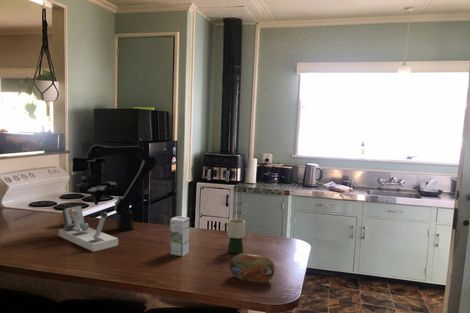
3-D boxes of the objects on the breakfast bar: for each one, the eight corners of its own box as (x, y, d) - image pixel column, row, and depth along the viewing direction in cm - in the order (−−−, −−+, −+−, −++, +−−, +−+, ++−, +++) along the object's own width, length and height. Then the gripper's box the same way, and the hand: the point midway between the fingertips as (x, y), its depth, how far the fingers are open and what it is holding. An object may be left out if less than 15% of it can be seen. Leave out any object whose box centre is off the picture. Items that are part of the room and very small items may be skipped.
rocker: (70, 226, 160) (70, 223, 160) (74, 227, 157) (74, 224, 157) (63, 227, 158) (63, 225, 158) (68, 228, 155) (67, 225, 155)
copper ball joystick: (81, 230, 154) (71, 207, 150) (84, 231, 152) (75, 208, 148) (76, 233, 152) (66, 210, 148) (79, 234, 150) (69, 211, 146)
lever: (96, 239, 144) (105, 211, 147) (100, 240, 143) (109, 212, 145) (91, 238, 142) (100, 210, 145) (94, 239, 141) (104, 211, 143)
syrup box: (189, 252, 141) (189, 217, 140) (182, 257, 136) (183, 220, 135) (176, 250, 143) (177, 215, 142) (169, 255, 137) (169, 218, 136)
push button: (85, 226, 161) (85, 222, 161) (89, 228, 158) (89, 224, 158) (78, 228, 158) (78, 224, 158) (82, 230, 156) (82, 225, 155)
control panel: (82, 231, 166) (82, 224, 166) (118, 245, 147) (118, 237, 147) (59, 236, 158) (59, 229, 157) (93, 251, 139) (93, 243, 138)
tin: (229, 277, 118) (229, 253, 117) (232, 274, 121) (233, 250, 120) (272, 285, 112) (273, 260, 112) (275, 281, 115) (276, 256, 115)
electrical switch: (68, 227, 171) (67, 209, 171) (61, 227, 174) (60, 208, 174) (84, 223, 180) (83, 205, 179) (77, 223, 182) (76, 205, 182)
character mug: (233, 247, 149) (234, 217, 148) (248, 249, 146) (249, 219, 146) (221, 254, 139) (222, 222, 139) (238, 257, 136) (239, 225, 136)
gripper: (105, 169, 177) (105, 199, 178) (68, 171, 162) (68, 204, 163) (117, 171, 169) (117, 203, 170) (80, 173, 155) (80, 208, 156)
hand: (96, 204), depth 165 cm, fingers closed
